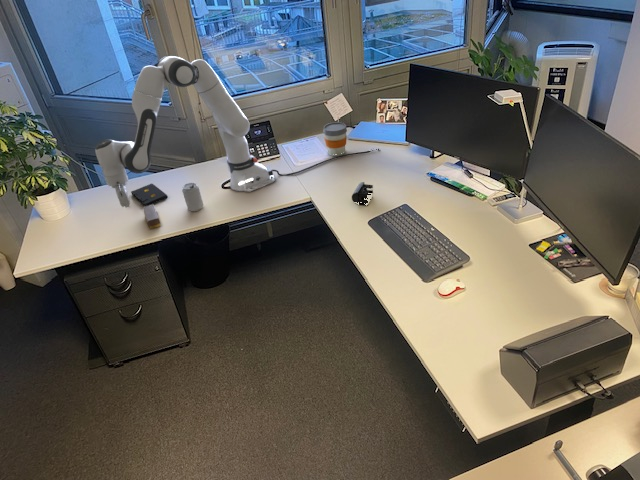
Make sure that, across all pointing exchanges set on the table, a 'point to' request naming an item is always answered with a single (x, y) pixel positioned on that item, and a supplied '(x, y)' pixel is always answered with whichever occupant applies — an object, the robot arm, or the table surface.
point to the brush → (151, 216)
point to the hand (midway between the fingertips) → (127, 205)
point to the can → (192, 196)
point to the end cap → (362, 193)
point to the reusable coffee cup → (335, 138)
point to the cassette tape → (149, 195)
